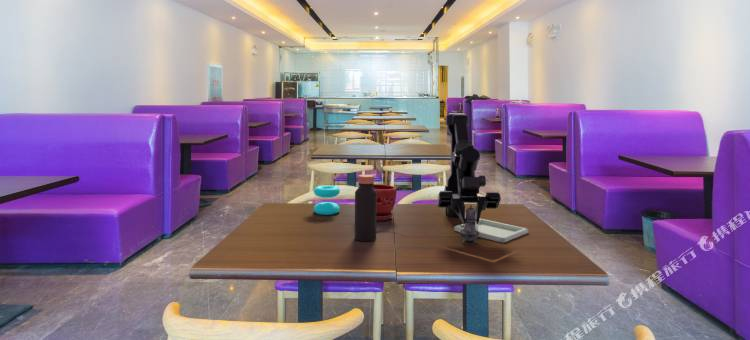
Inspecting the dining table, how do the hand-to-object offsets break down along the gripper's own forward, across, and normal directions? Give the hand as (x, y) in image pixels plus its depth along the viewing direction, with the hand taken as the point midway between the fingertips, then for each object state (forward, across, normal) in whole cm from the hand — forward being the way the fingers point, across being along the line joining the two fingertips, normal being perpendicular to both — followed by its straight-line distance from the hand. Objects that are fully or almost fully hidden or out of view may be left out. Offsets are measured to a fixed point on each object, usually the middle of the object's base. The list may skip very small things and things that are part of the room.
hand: (471, 223), depth 137 cm
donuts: (-21, -49, +31) cm, 62 cm away
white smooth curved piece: (-5, +3, +14) cm, 15 cm away
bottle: (+2, -32, +8) cm, 33 cm away
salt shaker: (+4, 0, +6) cm, 7 cm away
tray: (-4, +9, +14) cm, 17 cm away
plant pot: (-17, -29, +27) cm, 43 cm away
